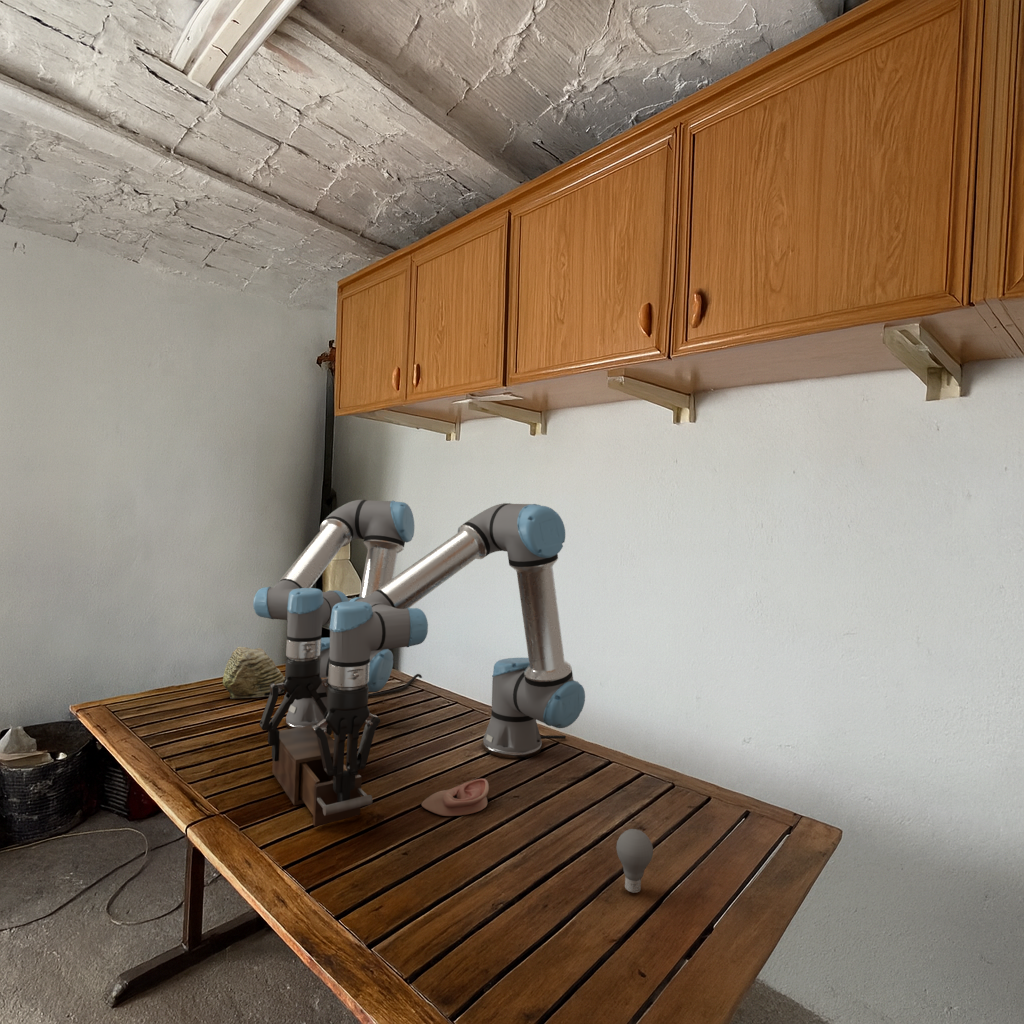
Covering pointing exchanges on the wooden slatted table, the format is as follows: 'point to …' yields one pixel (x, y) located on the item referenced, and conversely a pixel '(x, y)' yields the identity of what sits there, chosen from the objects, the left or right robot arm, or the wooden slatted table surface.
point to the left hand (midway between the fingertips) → (299, 754)
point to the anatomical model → (459, 799)
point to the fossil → (250, 673)
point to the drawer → (328, 794)
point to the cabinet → (296, 757)
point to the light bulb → (634, 857)
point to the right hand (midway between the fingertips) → (343, 807)
